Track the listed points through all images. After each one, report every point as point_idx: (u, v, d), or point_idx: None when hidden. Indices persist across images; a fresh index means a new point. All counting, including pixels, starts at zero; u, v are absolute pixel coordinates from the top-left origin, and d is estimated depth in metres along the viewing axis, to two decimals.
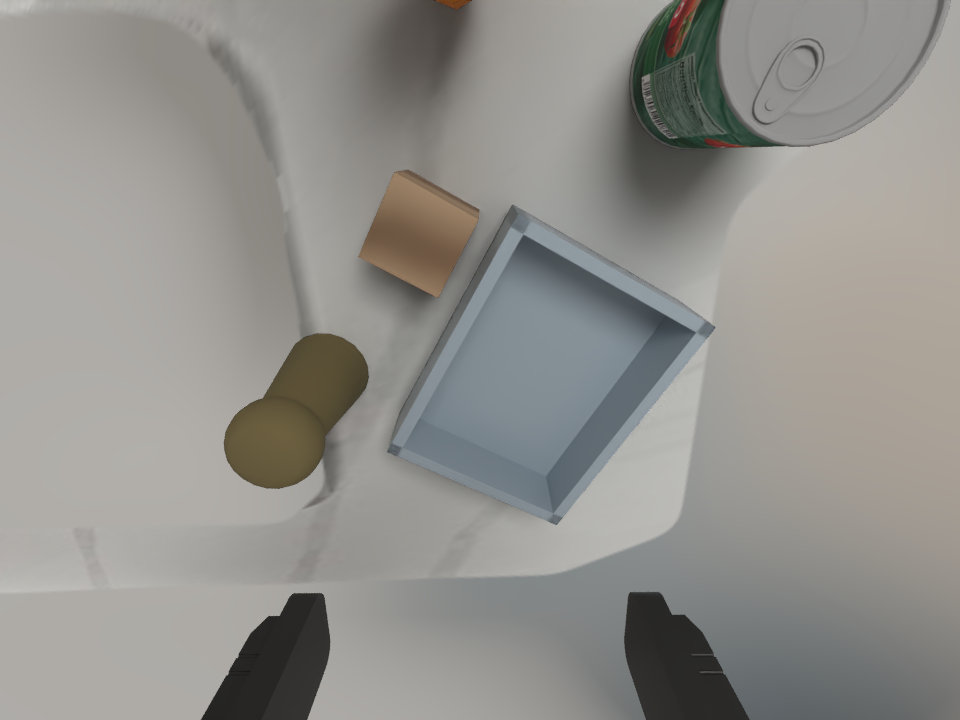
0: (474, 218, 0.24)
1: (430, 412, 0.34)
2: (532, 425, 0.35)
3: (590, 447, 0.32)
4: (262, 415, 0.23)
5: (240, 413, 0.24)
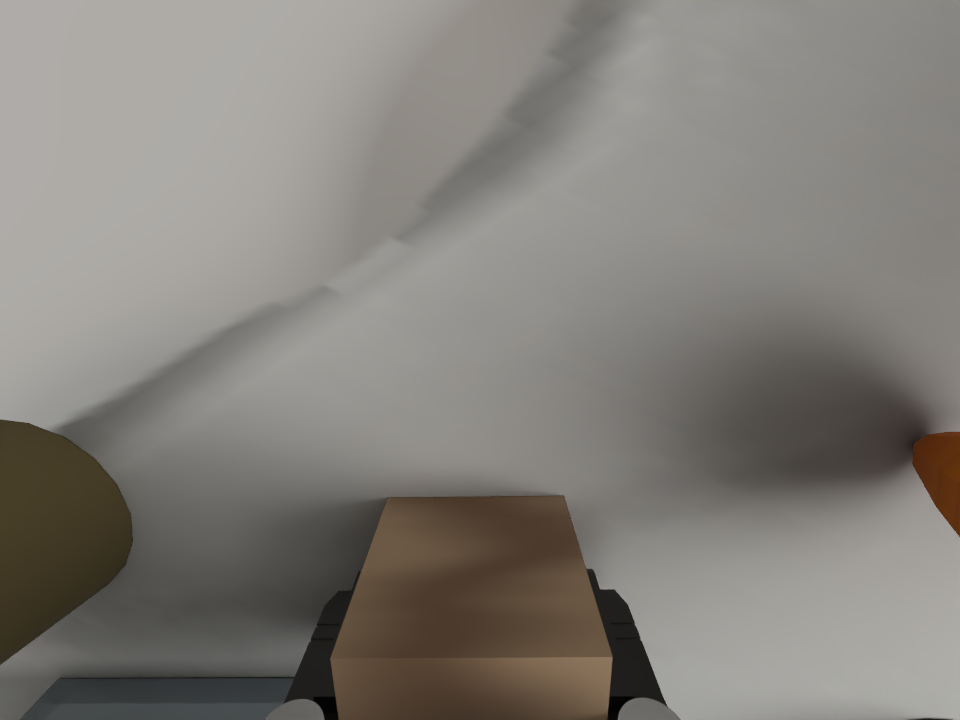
0: None
1: None
2: None
3: None
4: None
5: None
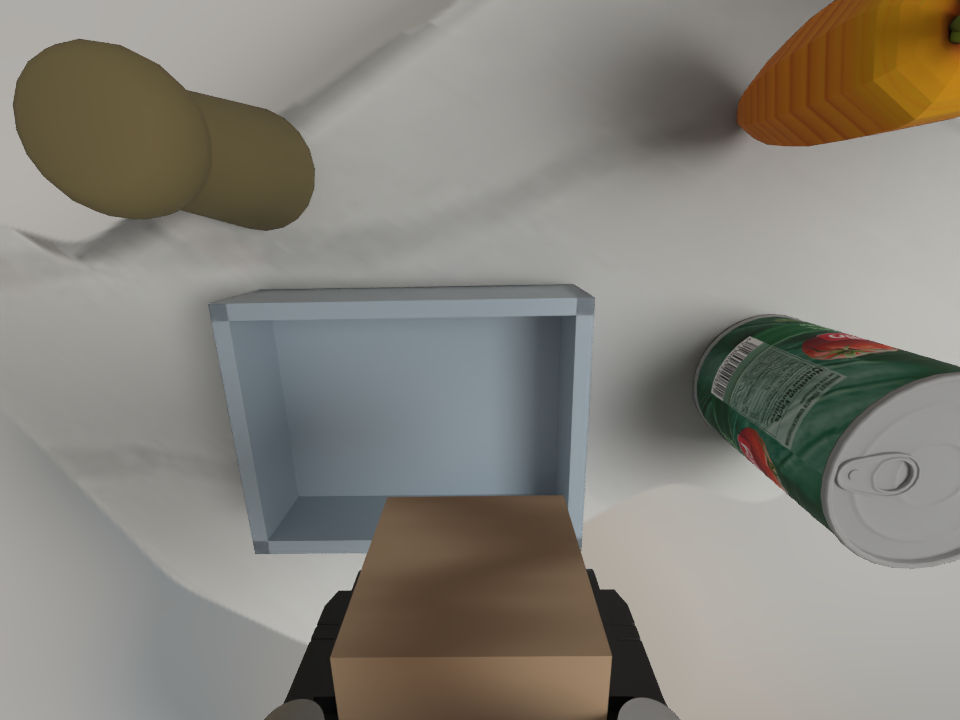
0: None
1: (289, 326, 0.25)
2: (350, 445, 0.27)
3: (374, 522, 0.26)
4: (158, 91, 0.14)
5: (133, 53, 0.14)
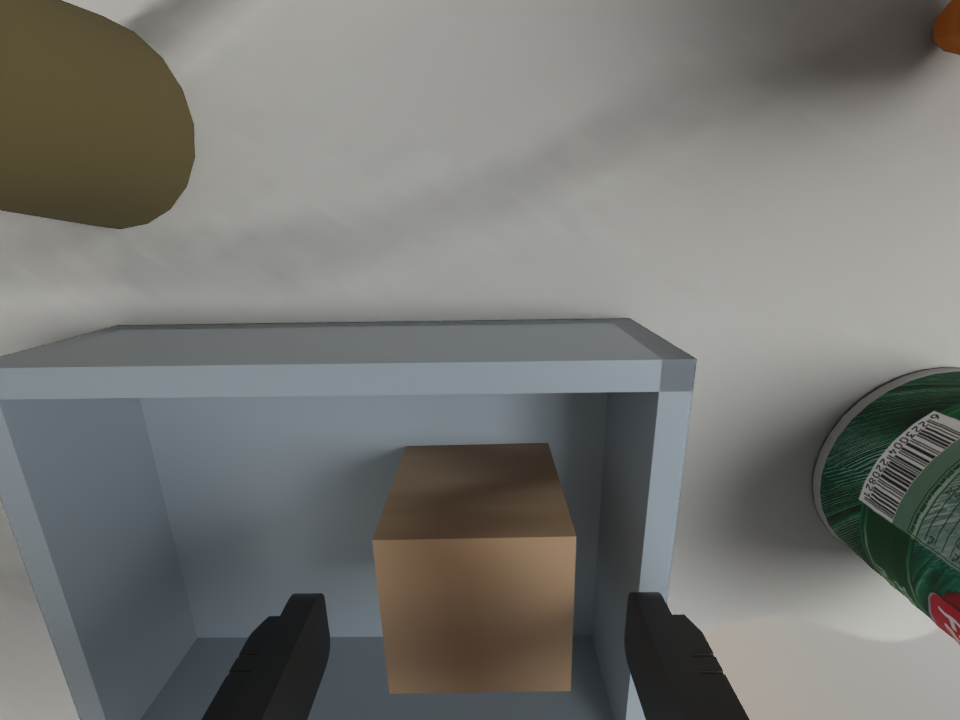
0: (568, 684, 0.12)
1: None
2: (273, 566, 0.17)
3: None
4: None
5: None
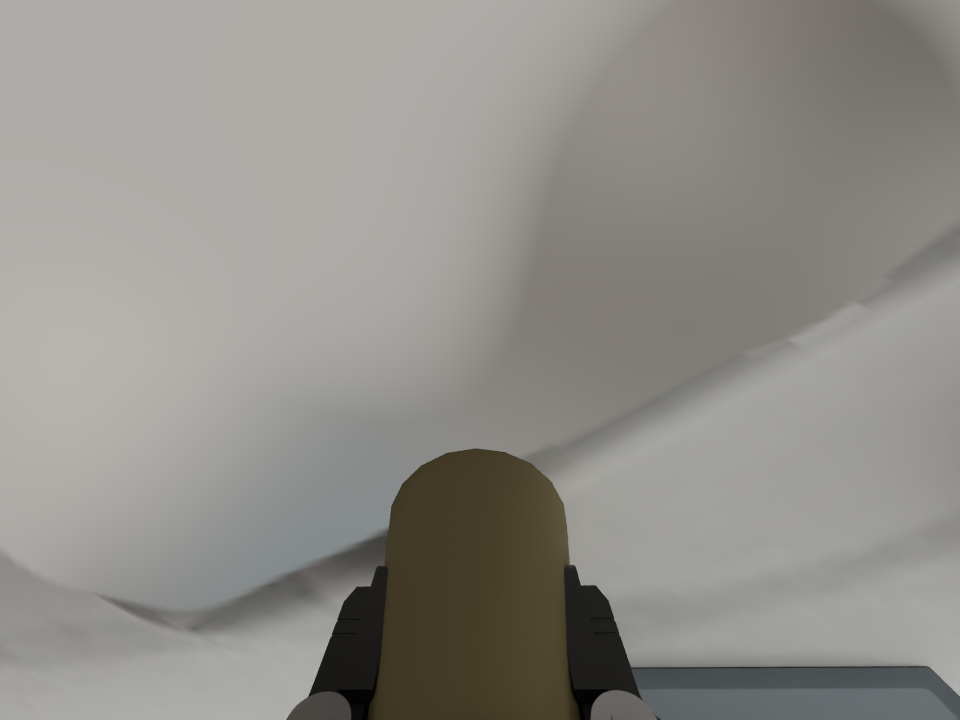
0: None
1: None
2: None
3: None
4: None
5: None
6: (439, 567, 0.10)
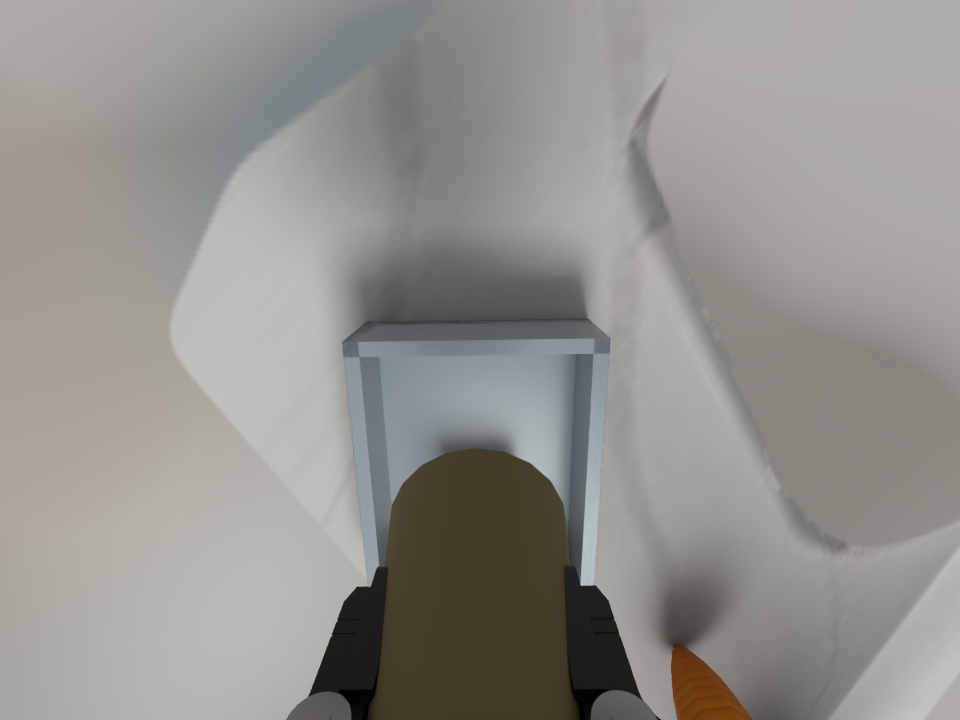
0: None
1: None
2: (437, 393, 0.28)
3: (374, 438, 0.26)
4: None
5: None
6: (439, 566, 0.10)
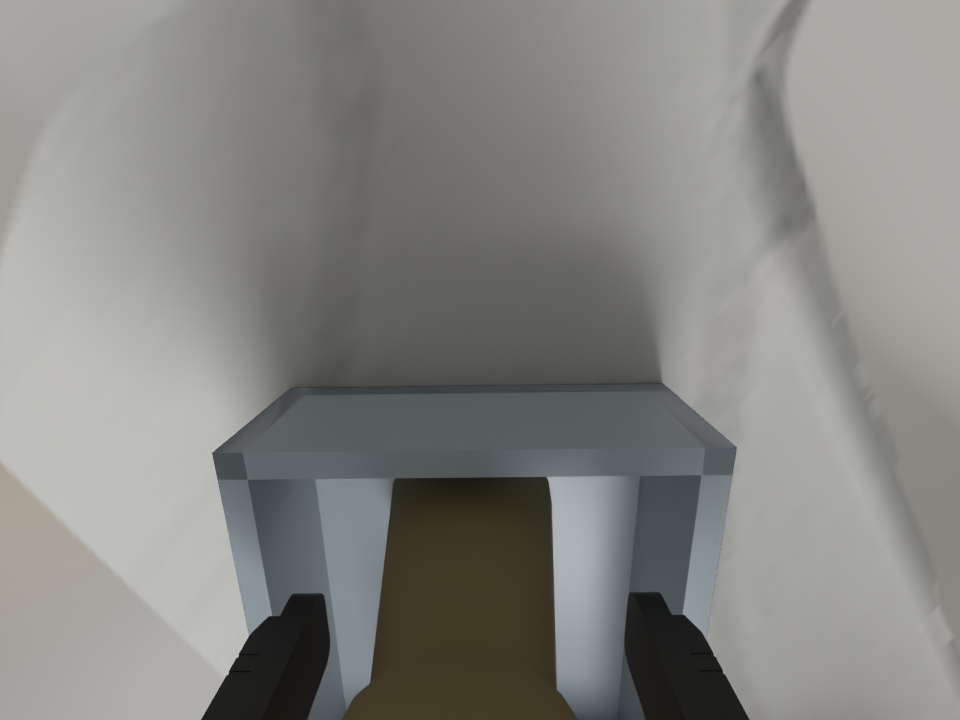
0: None
1: None
2: None
3: None
4: None
5: None
6: (435, 527, 0.12)
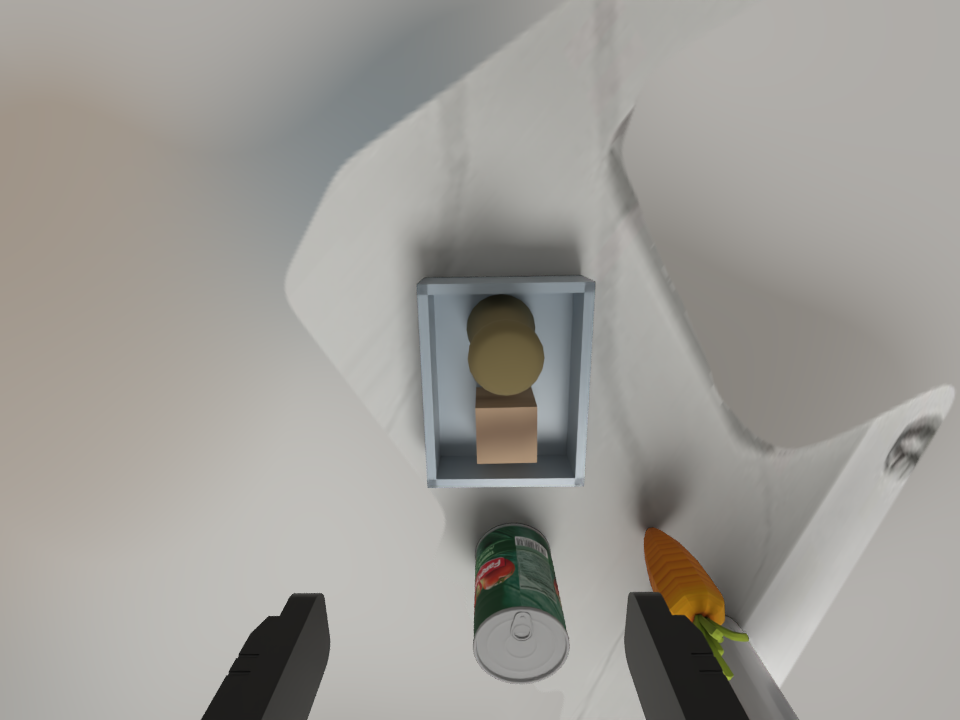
0: (479, 463, 0.38)
1: (559, 296, 0.39)
2: None
3: (432, 356, 0.38)
4: (539, 346, 0.29)
5: (525, 327, 0.30)
6: (492, 311, 0.35)
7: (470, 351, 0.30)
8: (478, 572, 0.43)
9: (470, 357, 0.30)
